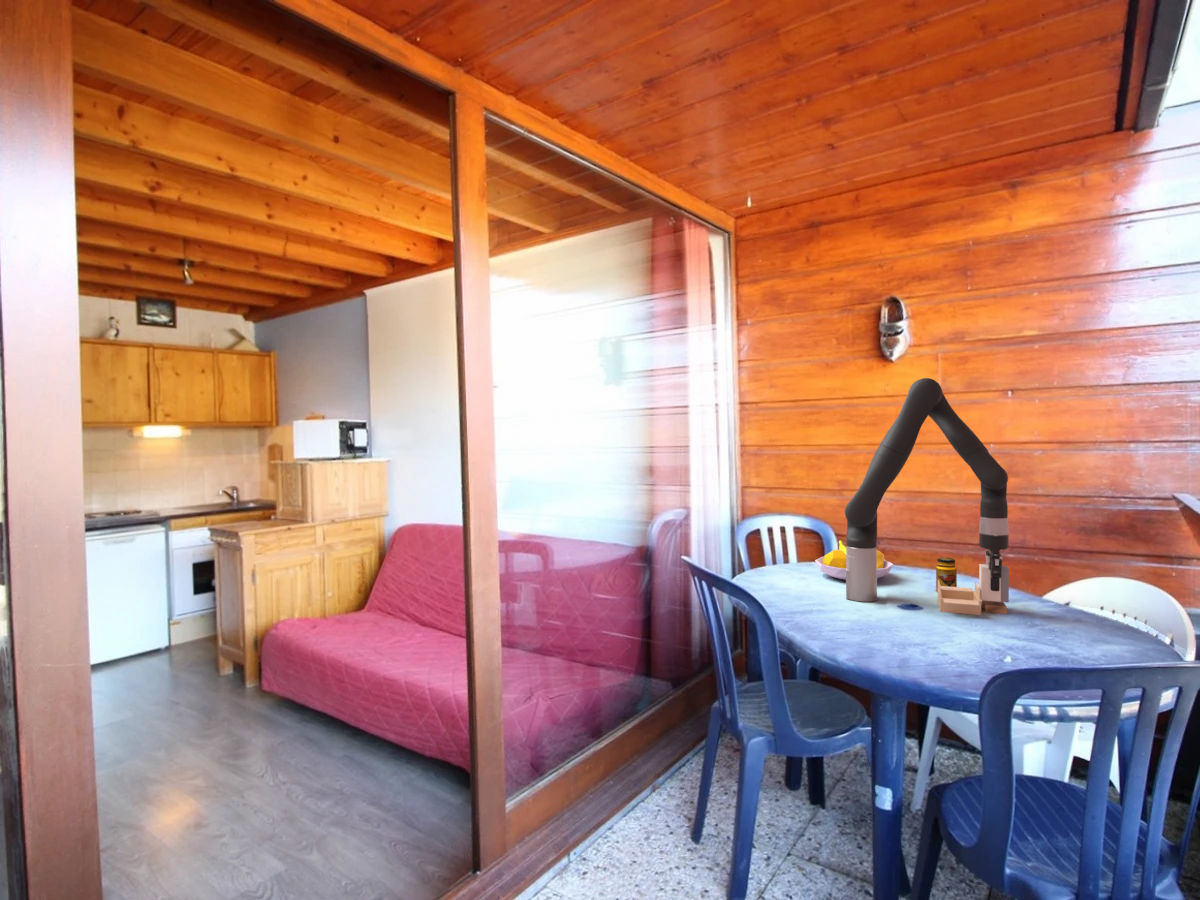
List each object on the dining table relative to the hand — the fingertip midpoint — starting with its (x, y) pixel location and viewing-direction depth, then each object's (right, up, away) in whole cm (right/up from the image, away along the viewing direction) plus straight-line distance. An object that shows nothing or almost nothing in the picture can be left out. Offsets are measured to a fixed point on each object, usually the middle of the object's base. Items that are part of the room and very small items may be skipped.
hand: (993, 588), depth 194 cm
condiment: (-3, -7, +22) cm, 23 cm away
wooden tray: (-9, -7, +3) cm, 12 cm away
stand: (0, -7, 0) cm, 7 cm away
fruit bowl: (-23, -6, +48) cm, 54 cm away
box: (0, -3, 0) cm, 3 cm away
